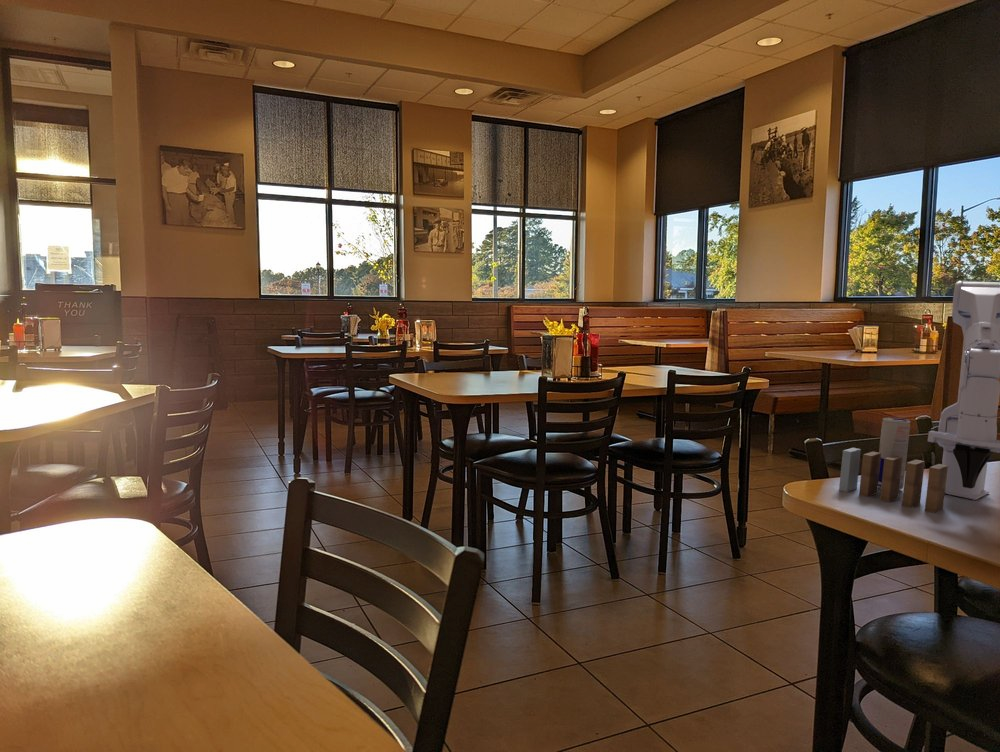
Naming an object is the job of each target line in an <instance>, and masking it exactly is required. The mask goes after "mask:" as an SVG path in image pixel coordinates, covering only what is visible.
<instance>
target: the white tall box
mask: <svg viewBox="0 0 1000 752" xmlns="http://www.w3.org/2000/svg"><path fill="white" fill-rule="evenodd" d="M910 423H911V420H909V419H904V418H899V417H898V418H897V417H883V418H882V421H881V428H880V440H879V447H878V448H879V449H878V453H881V461H880V470H879V480H878V489H880V490H881V486H882V476H883V467H884V458H887V457H891V456H900V457H903V458H902V467H901V476H900V485H899V491H900V490H902V489H904V481H905V472H906V464H907V460H908V459H907V458H908V450H909V448H908V447H909V440H910V439H909V438H910V431H911V424H910Z"/></svg>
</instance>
